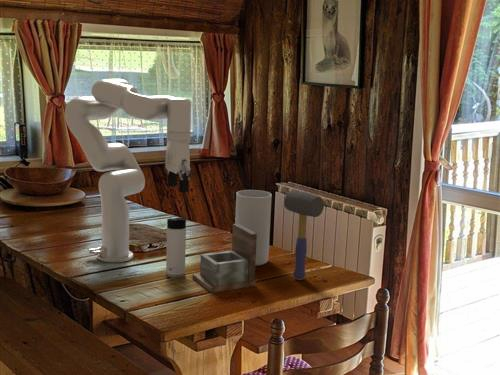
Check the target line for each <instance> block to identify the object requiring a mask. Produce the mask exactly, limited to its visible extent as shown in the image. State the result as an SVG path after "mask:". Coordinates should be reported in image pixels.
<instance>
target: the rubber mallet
mask: <svg viewBox="0 0 500 375" xmlns="http://www.w3.org/2000/svg"><path fill="white" fill-rule="evenodd" d="M283 204H284V208H285V209H286V210H287V211H290V212H292V213H295V214H299V215H298V228H297V229H298V230H297V237H296V242H295V253H294V254H295V266H294V270H293V276H294V279H295V280H297V281H302V280H304V279H305V277H306V257H307V251H308V249H307V247H308V246H307V244H308V243H307V235H306V234H307V218H308V217H312V218H317V217H319V216H320V215H321V214H322V213H323V211H324V207H325V202H324V199H323V198H322V197H321V196H319V195H316V194H313V193H309V192H305V191H300V190H290V191H288V192H287V193H286V194H285V196H284V201H283Z"/></svg>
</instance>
